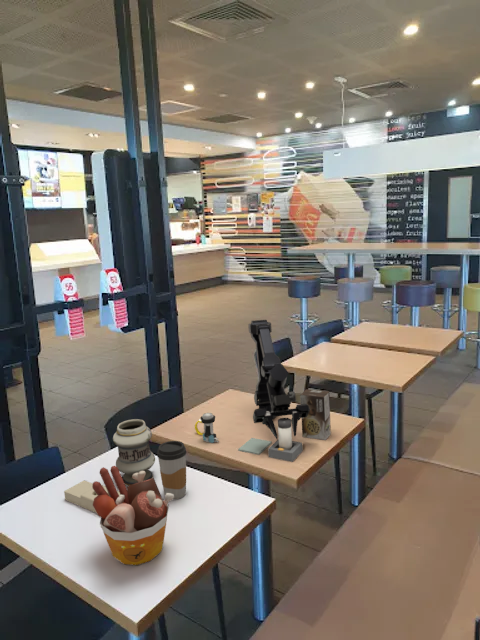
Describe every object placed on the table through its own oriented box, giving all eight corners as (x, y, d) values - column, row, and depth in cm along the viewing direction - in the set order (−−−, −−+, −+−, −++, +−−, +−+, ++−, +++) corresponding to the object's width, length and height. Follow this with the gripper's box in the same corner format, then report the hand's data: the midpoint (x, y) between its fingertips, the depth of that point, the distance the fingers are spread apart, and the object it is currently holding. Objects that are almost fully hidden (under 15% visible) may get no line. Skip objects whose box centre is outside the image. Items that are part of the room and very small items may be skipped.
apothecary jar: (110, 479, 157) (103, 425, 154) (142, 465, 166) (137, 413, 162) (131, 492, 149) (125, 435, 146) (164, 476, 157) (159, 422, 154)
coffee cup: (178, 484, 152) (174, 437, 150) (195, 493, 146) (191, 445, 144) (155, 495, 147) (150, 447, 144) (172, 505, 141) (168, 455, 138)
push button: (222, 440, 181) (221, 414, 180) (213, 446, 177) (211, 419, 175) (208, 436, 185) (206, 410, 183) (199, 442, 181) (197, 415, 179)
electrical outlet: (83, 477, 152) (125, 492, 142) (85, 489, 153) (126, 506, 143) (63, 488, 146) (105, 505, 136) (65, 501, 147) (106, 518, 137)
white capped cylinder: (282, 450, 171) (281, 416, 169) (294, 452, 169) (293, 418, 166) (277, 455, 167) (275, 421, 165) (289, 458, 165) (287, 423, 163)
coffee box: (331, 433, 182) (330, 391, 179) (325, 440, 176) (324, 396, 173) (307, 430, 186) (306, 388, 183) (301, 436, 181) (299, 394, 178)
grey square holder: (279, 446, 174) (279, 437, 173) (302, 450, 169) (302, 441, 169) (268, 457, 166) (268, 447, 166) (292, 461, 162) (292, 452, 162)
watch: (211, 434, 188) (211, 419, 186) (208, 437, 185) (208, 422, 184) (197, 431, 190) (197, 417, 189) (193, 434, 188) (193, 419, 186)
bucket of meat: (190, 543, 123) (184, 468, 119) (144, 585, 110) (135, 502, 106) (131, 521, 134) (124, 452, 130) (82, 557, 120) (72, 481, 117)
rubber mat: (251, 439, 181) (251, 437, 181) (271, 442, 177) (271, 441, 177) (238, 450, 172) (238, 449, 172) (259, 454, 168) (258, 453, 168)
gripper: (252, 386, 166) (260, 431, 157) (307, 380, 169) (318, 424, 160) (249, 401, 175) (257, 444, 167) (301, 395, 178) (311, 437, 169)
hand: (286, 437), depth 165 cm, fingers open, 6 cm apart
